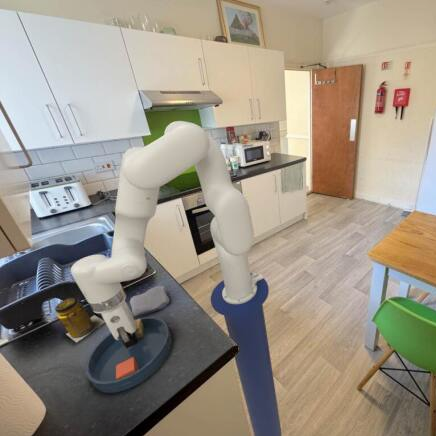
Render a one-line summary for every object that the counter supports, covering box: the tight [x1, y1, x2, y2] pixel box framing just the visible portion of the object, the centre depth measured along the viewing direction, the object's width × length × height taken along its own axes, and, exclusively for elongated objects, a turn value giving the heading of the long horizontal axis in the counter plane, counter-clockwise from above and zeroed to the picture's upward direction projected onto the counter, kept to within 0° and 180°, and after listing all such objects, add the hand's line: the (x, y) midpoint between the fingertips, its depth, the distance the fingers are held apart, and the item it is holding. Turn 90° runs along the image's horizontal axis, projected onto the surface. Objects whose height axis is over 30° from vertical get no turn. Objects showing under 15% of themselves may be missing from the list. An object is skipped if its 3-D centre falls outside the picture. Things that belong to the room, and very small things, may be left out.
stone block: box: [129, 285, 170, 317], centre depth 86 cm, size 12×5×10 cm
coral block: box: [116, 357, 139, 380], centre depth 63 cm, size 4×4×4 cm
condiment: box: [54, 297, 106, 344], centre depth 76 cm, size 7×8×12 cm
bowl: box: [85, 316, 173, 394], centre depth 69 cm, size 20×20×4 cm
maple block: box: [134, 318, 145, 338], centre depth 74 cm, size 4×4×4 cm
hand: (132, 343), depth 71 cm, fingers closed
